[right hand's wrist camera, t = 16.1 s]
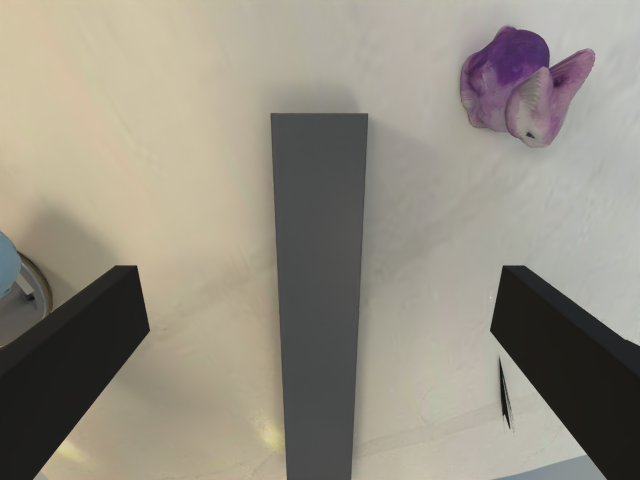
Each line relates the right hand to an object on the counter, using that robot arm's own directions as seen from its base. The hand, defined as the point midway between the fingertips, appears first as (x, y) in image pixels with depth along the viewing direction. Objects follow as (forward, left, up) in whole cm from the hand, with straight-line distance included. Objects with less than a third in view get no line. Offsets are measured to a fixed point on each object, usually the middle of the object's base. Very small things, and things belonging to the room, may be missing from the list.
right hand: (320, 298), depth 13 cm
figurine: (+13, +18, -34) cm, 41 cm away
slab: (+12, -21, -34) cm, 42 cm away
